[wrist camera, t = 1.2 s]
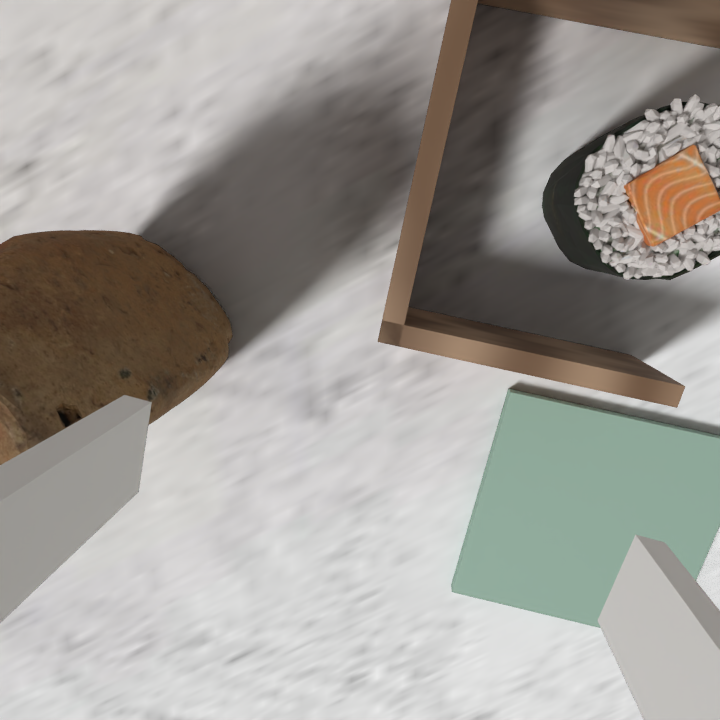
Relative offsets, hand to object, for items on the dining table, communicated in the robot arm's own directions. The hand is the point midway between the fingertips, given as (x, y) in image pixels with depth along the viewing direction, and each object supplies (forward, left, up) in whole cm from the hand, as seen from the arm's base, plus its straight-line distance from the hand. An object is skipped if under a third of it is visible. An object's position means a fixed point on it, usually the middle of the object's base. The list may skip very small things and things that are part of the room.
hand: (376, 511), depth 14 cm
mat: (+10, +16, -22) cm, 29 cm away
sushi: (-11, +11, -22) cm, 27 cm away
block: (+2, -16, -22) cm, 28 cm away
